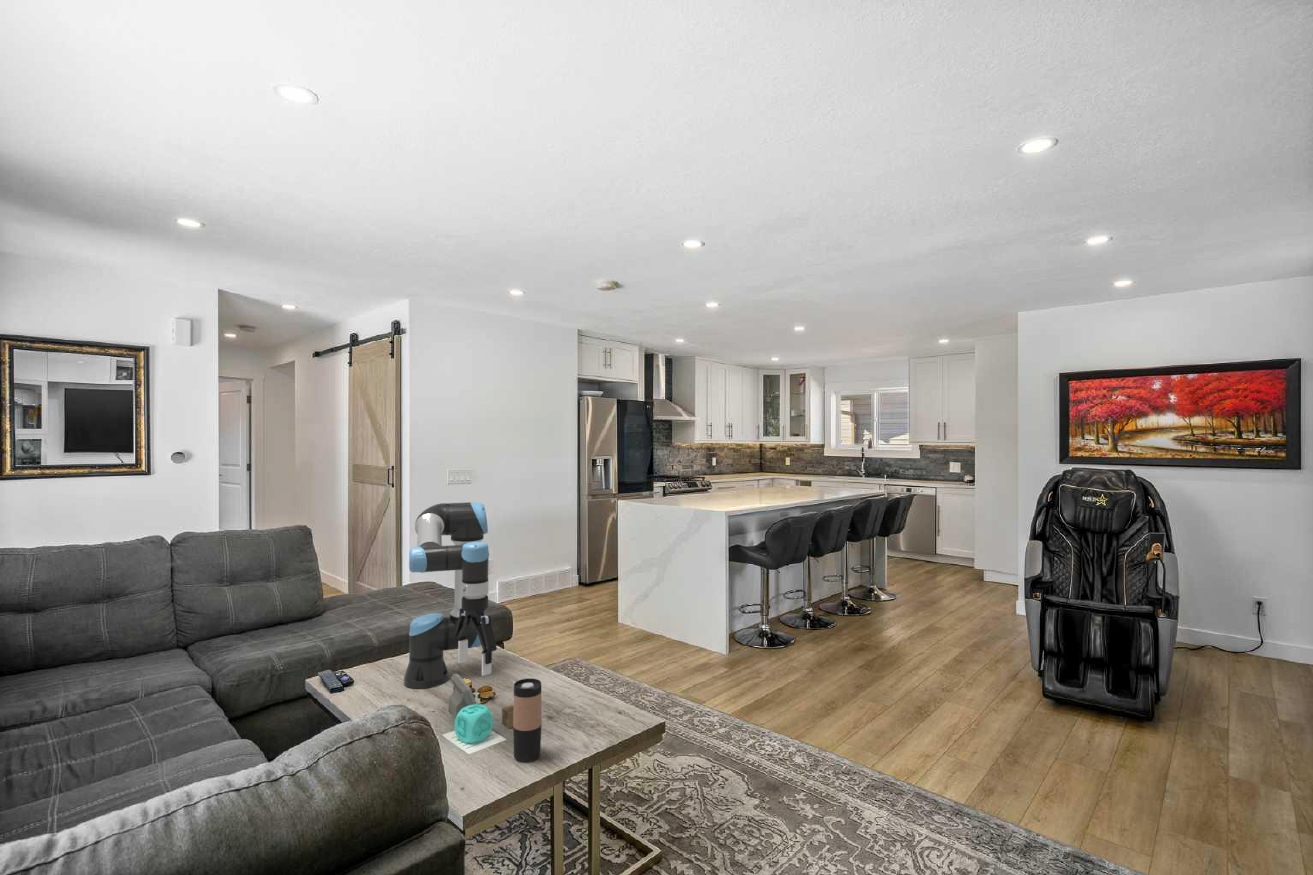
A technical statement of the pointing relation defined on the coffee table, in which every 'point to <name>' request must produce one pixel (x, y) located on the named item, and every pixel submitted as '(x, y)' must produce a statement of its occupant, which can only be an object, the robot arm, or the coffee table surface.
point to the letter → (473, 747)
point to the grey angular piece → (460, 695)
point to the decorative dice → (473, 723)
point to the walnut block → (507, 716)
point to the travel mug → (527, 720)
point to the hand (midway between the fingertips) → (474, 668)
